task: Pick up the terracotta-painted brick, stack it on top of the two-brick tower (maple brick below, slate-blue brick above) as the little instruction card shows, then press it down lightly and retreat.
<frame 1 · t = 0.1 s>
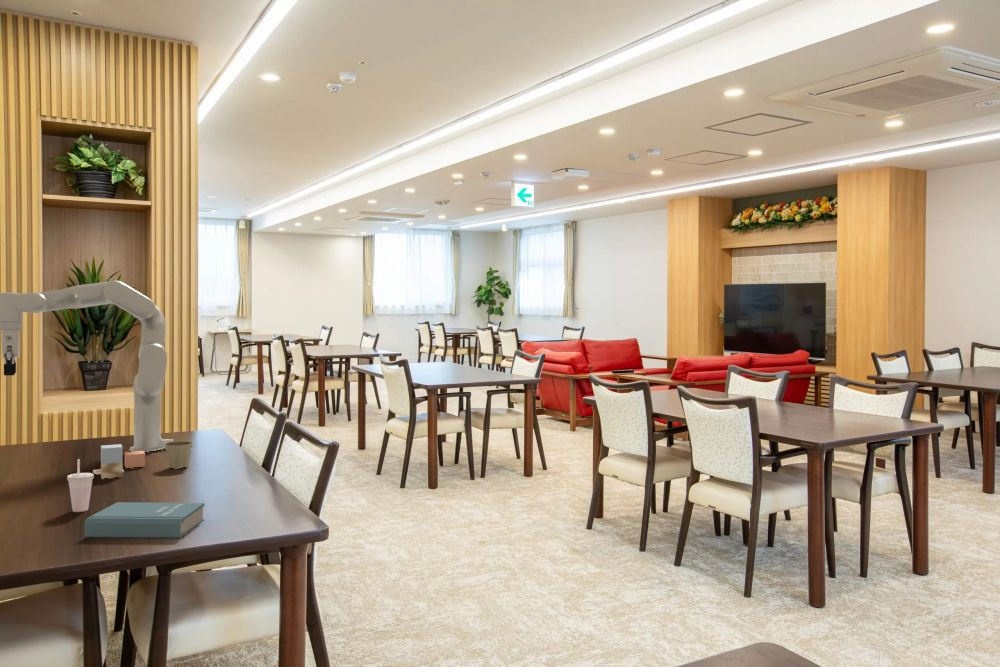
hand: (10, 374, 264), 31 cm above the table, tool pointing down, fingers open, 9 cm apart
smoothie: (80, 510, 201), on the table
terracotta brick: (134, 466, 258), on the table
slate blue brick: (111, 461, 242), point 5 cm above the table, touching maple brick
book: (147, 531, 185), on the table
instruction card: (108, 471, 249), on the table
flower pot: (178, 468, 257), on the table
maple brick: (111, 476, 242), on the table, touching slate blue brick
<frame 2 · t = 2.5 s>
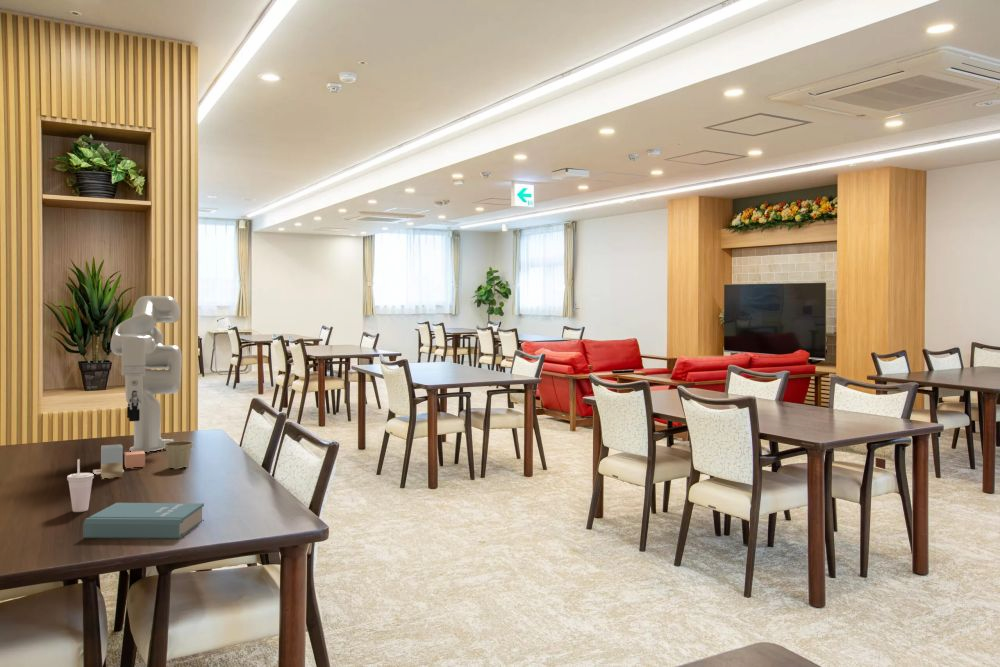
hand: (133, 419, 257), 17 cm above the table, tool pointing down, fingers open, 9 cm apart
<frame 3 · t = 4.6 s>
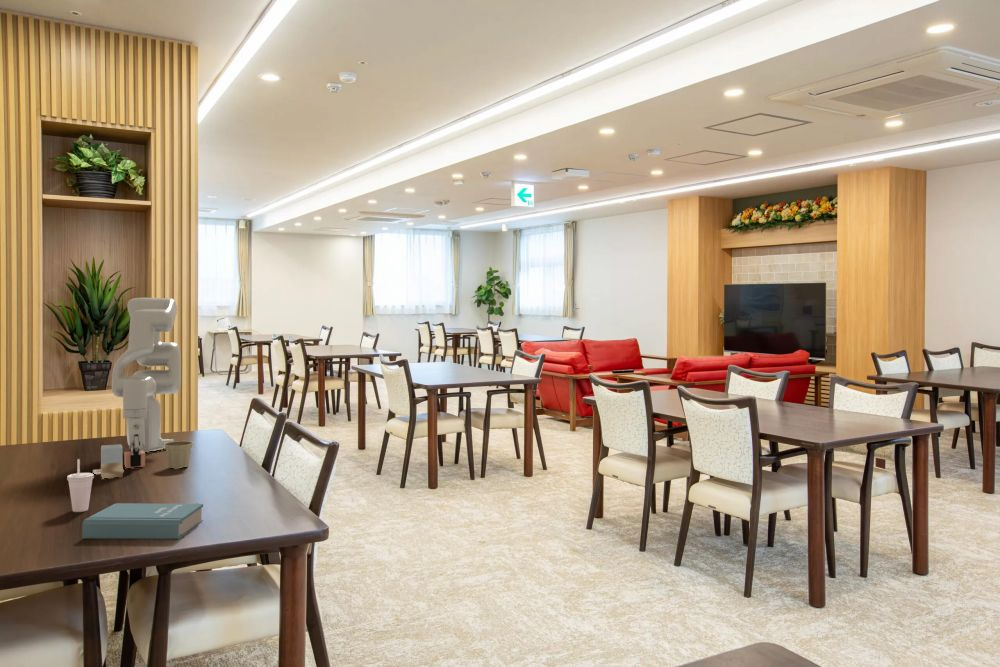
hand: (134, 464, 258), 1 cm above the table, tool pointing down, fingers closed on terracotta brick, 6 cm apart
terracotta brick: (134, 466, 258), on the table, touching gripper
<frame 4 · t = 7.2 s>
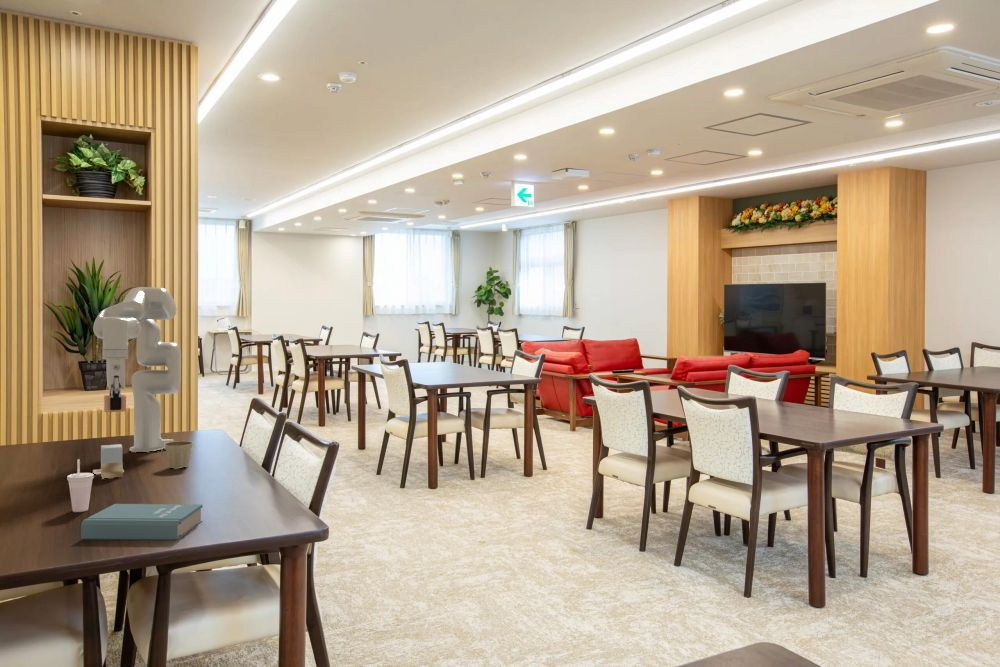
hand: (114, 408, 243), 22 cm above the table, tool pointing down, fingers closed on terracotta brick, 6 cm apart
terracotta brick: (114, 410, 243), point 21 cm above the table, touching gripper
when the fingers open (12 cm above the table, at t = 9.6 s): terracotta brick drops 1 cm, resting on slate blue brick.
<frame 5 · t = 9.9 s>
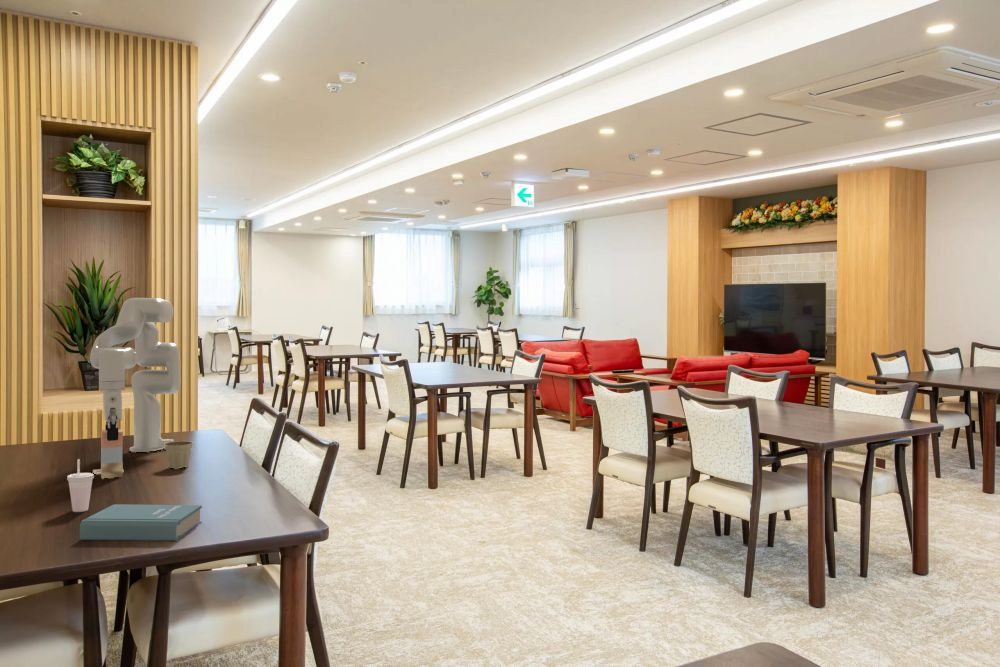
hand: (111, 438, 242), 13 cm above the table, tool pointing down, fingers open, 8 cm apart
terracotta brick: (111, 446, 242), point 10 cm above the table, touching slate blue brick
slate blue brick: (111, 461, 242), point 5 cm above the table, touching maple brick, terracotta brick
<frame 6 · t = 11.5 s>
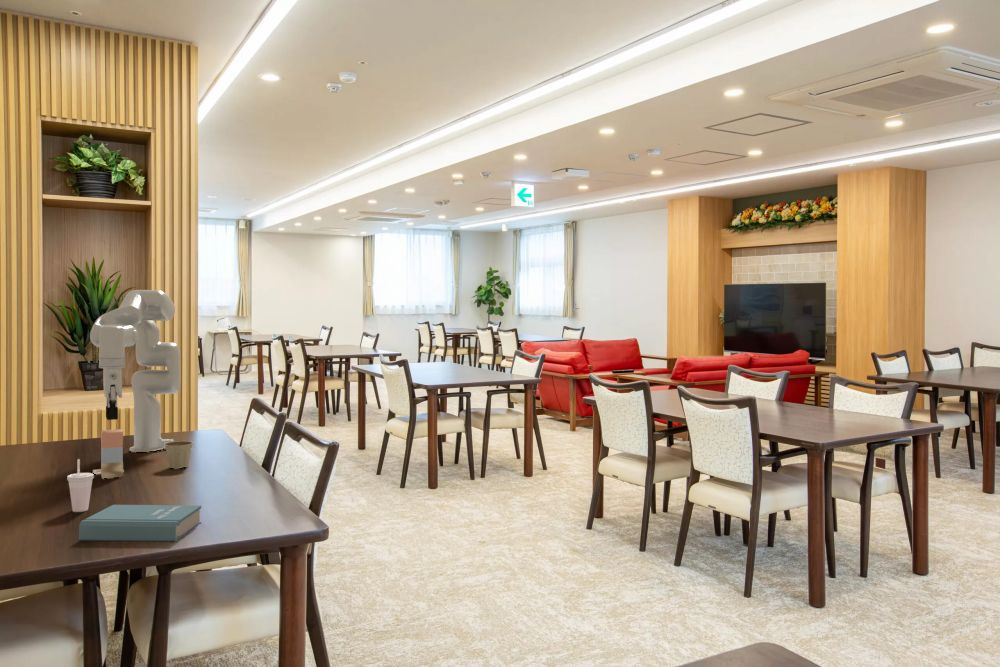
hand: (111, 418, 242), 19 cm above the table, tool pointing down, fingers open, 3 cm apart
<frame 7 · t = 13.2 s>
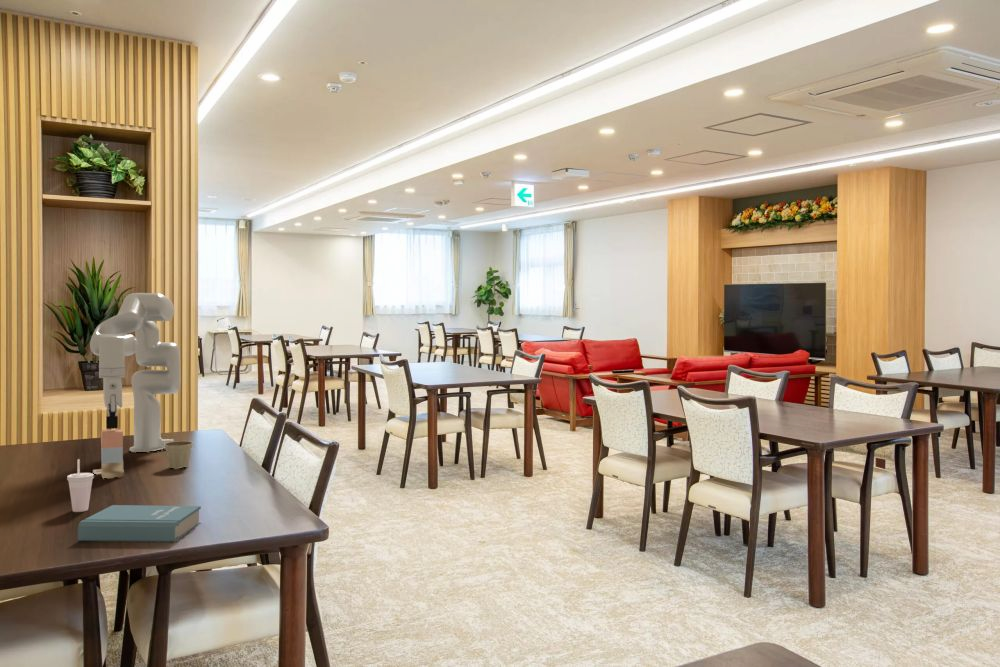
hand: (112, 428, 242), 16 cm above the table, tool pointing down, fingers closed
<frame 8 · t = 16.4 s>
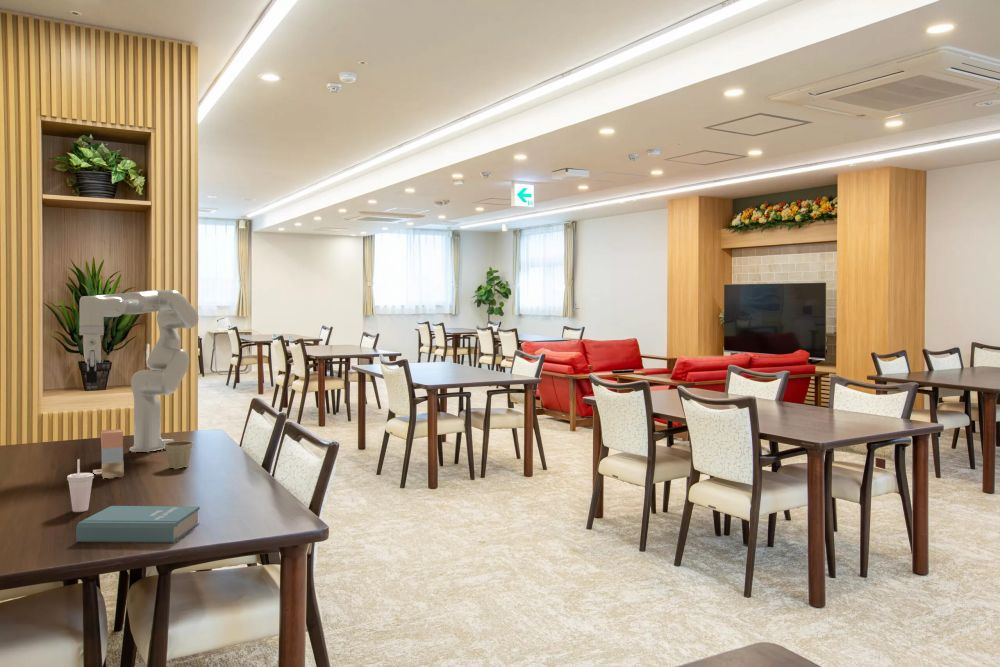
hand: (91, 382, 260), 29 cm above the table, tool pointing down, fingers closed
at the end: terracotta brick 0.2 cm off-centre on the maple brick, point 10.0 cm above the maple brick's base; terracotta brick tilted 0°; slate blue brick tilted 0° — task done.
